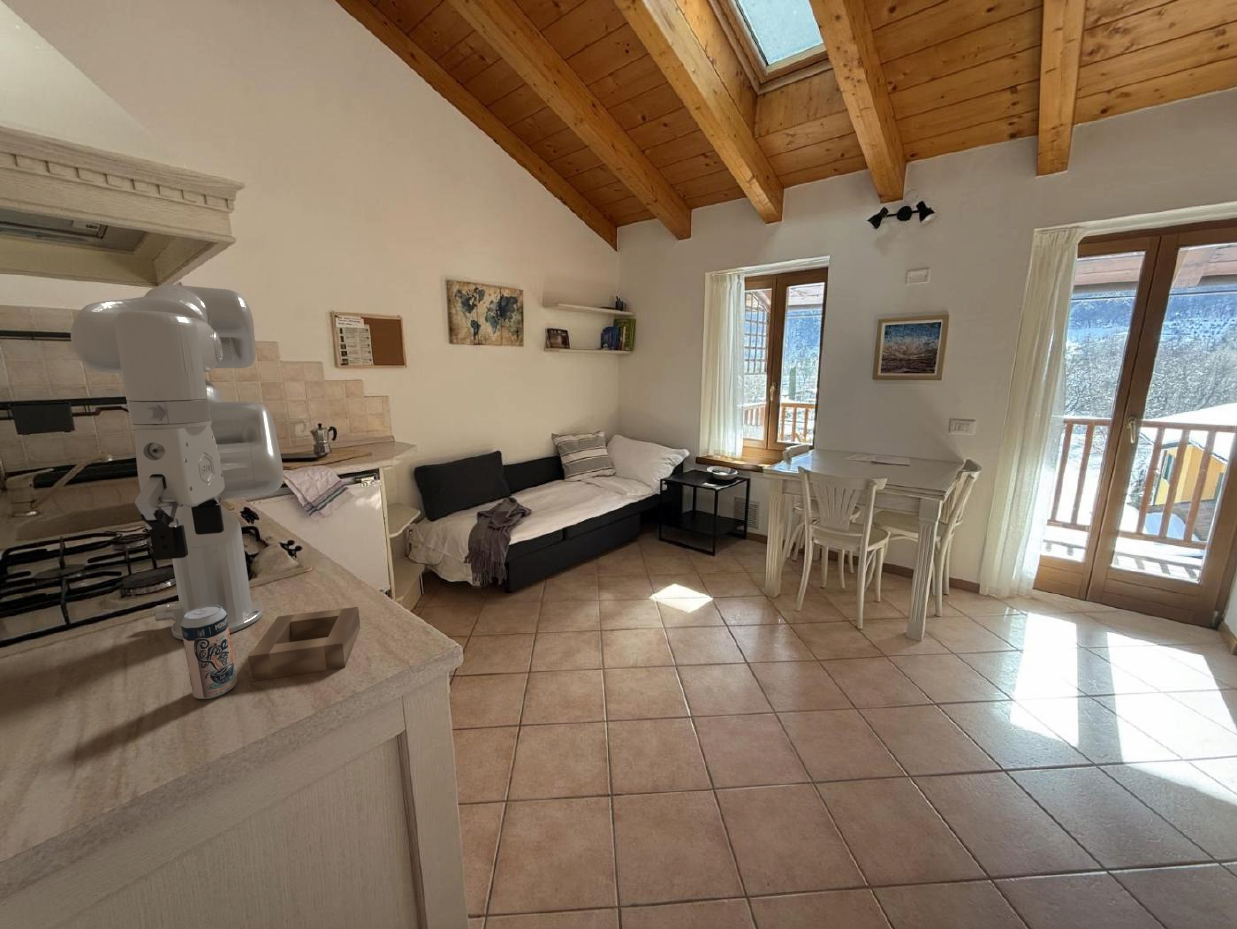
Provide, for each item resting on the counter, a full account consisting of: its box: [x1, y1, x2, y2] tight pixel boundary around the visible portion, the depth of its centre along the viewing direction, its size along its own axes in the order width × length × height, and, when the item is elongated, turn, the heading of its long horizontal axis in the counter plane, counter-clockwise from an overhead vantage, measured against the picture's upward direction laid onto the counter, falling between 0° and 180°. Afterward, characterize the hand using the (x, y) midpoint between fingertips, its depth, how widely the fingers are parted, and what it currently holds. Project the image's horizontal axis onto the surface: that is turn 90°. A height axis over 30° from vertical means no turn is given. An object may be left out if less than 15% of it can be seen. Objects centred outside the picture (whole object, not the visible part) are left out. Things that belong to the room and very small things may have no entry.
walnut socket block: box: [248, 606, 361, 682], centre depth 78 cm, size 12×12×4 cm
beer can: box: [181, 605, 238, 700], centre depth 68 cm, size 5×5×12 cm
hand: (192, 544), depth 64 cm, fingers open, 9 cm apart
